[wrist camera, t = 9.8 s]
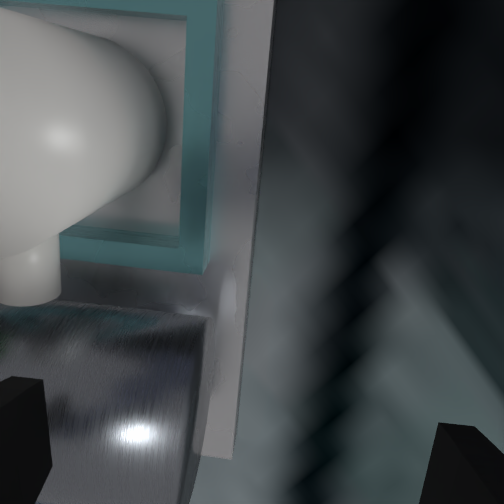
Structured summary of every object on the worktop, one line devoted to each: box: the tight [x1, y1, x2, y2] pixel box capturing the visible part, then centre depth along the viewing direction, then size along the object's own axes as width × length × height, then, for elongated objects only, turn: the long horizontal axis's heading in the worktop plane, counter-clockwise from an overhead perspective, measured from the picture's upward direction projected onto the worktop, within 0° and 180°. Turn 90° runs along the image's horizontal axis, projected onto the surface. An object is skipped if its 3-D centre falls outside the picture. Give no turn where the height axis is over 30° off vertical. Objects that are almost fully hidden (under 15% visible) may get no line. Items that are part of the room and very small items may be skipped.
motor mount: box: [0, 0, 277, 504], centre depth 14 cm, size 12×18×8 cm, turn 175°
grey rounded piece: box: [0, 7, 167, 307], centre depth 12 cm, size 5×7×6 cm
